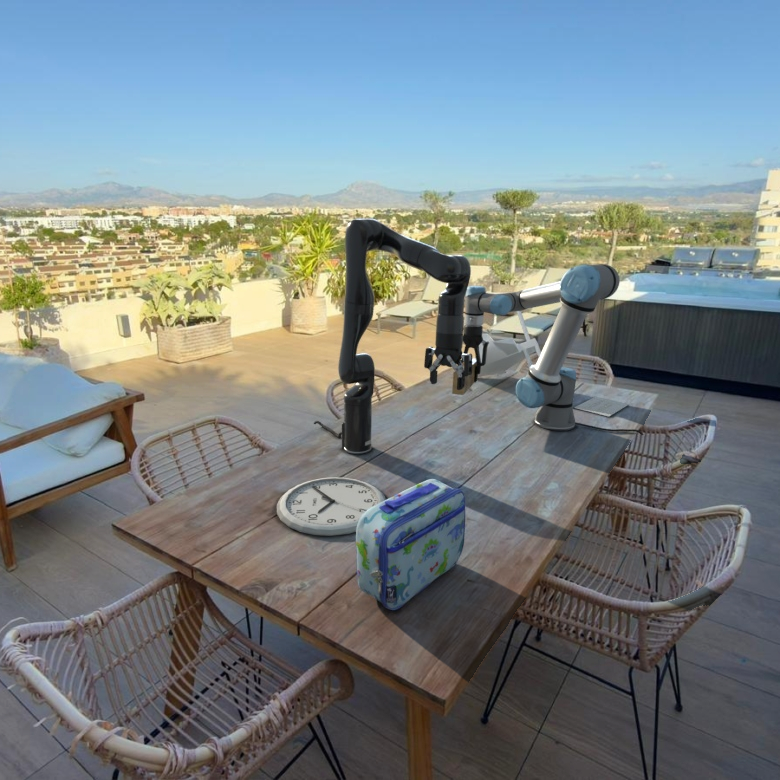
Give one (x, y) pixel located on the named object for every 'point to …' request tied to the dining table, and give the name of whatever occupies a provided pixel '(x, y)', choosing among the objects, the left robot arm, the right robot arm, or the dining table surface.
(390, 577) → the lunch box
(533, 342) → the white plastic object
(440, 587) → the dining table surface
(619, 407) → the thin gray rectangular panel
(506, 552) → the dining table surface
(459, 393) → the bar
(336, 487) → the wall clock
